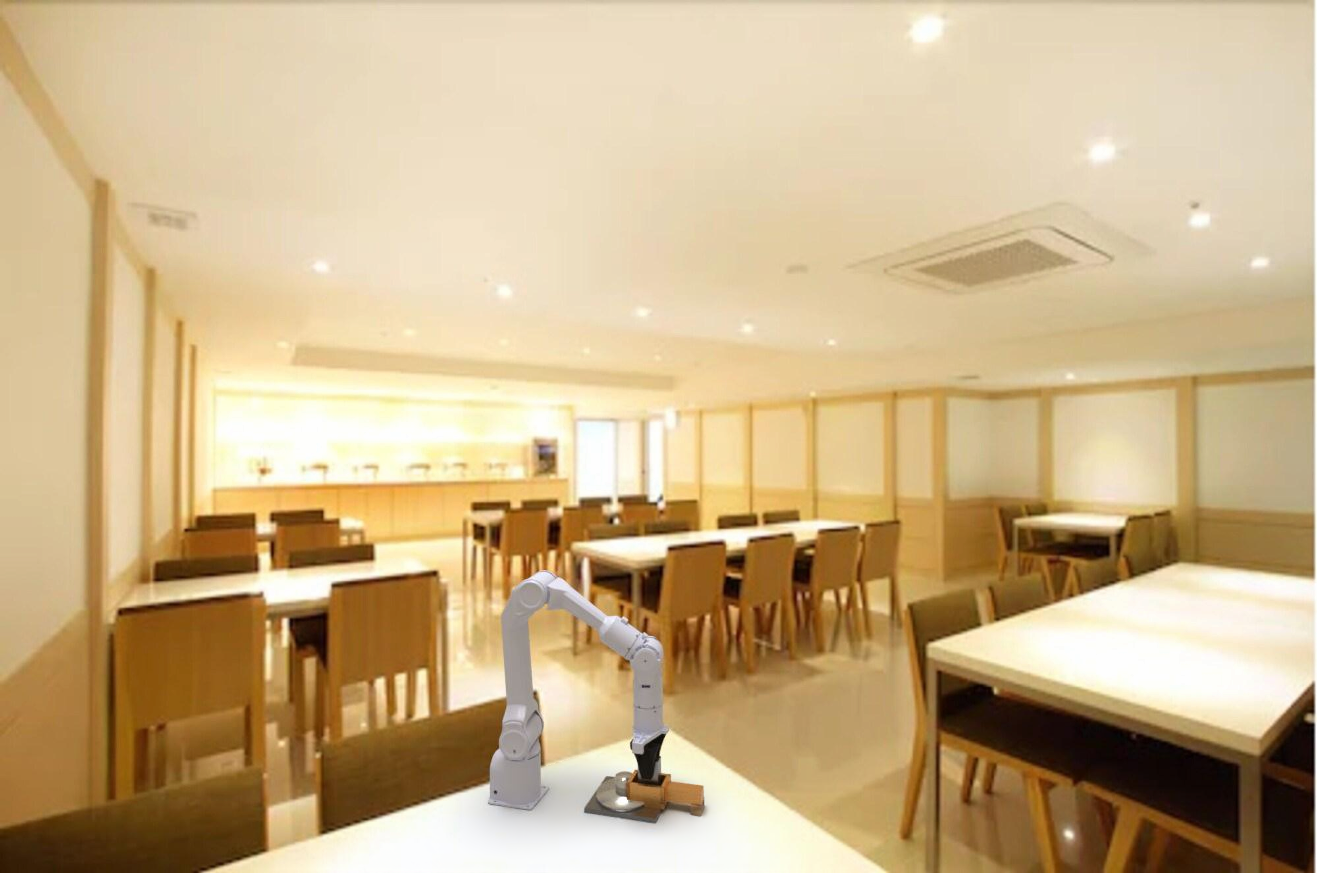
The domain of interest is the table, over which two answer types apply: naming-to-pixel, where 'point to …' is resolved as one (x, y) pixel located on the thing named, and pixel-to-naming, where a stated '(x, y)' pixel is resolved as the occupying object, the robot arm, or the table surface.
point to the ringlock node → (642, 797)
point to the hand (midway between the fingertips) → (648, 774)
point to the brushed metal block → (656, 775)
